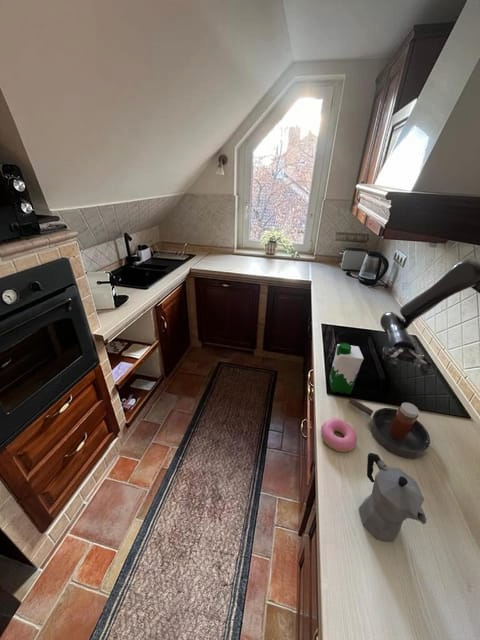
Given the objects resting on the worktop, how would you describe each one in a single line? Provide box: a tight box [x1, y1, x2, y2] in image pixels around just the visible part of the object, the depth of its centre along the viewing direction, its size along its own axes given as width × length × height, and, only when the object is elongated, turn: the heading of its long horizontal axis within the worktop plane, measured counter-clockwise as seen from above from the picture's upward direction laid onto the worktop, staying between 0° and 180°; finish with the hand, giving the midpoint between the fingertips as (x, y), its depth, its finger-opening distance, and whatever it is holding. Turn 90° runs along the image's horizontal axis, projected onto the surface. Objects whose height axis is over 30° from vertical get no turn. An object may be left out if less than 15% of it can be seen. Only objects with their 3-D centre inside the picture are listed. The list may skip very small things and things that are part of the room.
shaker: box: [388, 402, 420, 441], centre depth 80 cm, size 5×5×12 cm
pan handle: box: [347, 397, 374, 417], centre depth 90 cm, size 8×2×1 cm, turn 44°
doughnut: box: [320, 417, 358, 453], centre depth 80 cm, size 11×11×4 cm
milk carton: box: [328, 342, 365, 395], centre depth 96 cm, size 9×9×20 cm
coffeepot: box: [358, 452, 427, 543], centre depth 59 cm, size 15×9×18 cm, turn 16°
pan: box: [369, 407, 431, 460], centre depth 82 cm, size 16×16×4 cm
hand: (410, 370), depth 83 cm, fingers open, 8 cm apart
